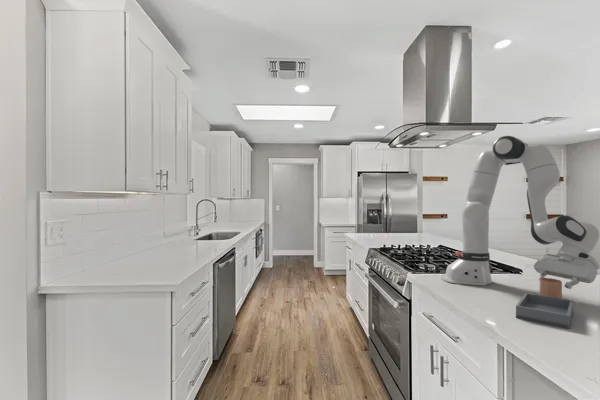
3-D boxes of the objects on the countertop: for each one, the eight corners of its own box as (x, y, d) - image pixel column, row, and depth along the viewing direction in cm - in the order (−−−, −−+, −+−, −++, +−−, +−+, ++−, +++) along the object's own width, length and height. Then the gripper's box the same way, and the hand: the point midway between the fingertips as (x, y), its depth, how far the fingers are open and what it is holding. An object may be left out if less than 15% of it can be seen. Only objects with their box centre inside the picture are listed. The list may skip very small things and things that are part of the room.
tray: (569, 328, 100) (569, 316, 100) (516, 317, 109) (516, 305, 109) (573, 311, 114) (573, 300, 114) (525, 303, 124) (525, 292, 124)
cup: (553, 305, 121) (553, 282, 121) (536, 300, 127) (536, 278, 127) (565, 303, 123) (565, 281, 123) (547, 298, 129) (547, 277, 129)
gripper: (540, 248, 138) (523, 273, 135) (597, 256, 119) (579, 285, 115) (547, 258, 139) (531, 282, 136) (605, 267, 120) (587, 296, 117)
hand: (554, 284), depth 126 cm, fingers open, 8 cm apart
